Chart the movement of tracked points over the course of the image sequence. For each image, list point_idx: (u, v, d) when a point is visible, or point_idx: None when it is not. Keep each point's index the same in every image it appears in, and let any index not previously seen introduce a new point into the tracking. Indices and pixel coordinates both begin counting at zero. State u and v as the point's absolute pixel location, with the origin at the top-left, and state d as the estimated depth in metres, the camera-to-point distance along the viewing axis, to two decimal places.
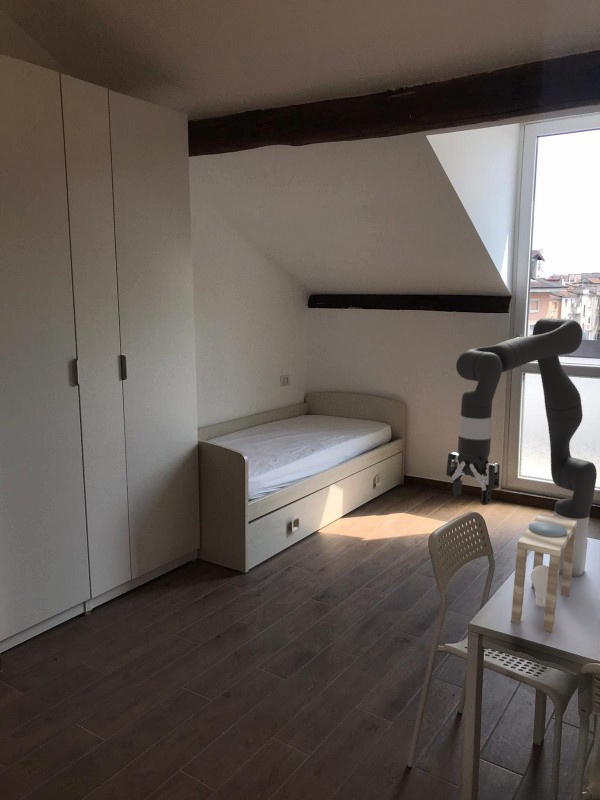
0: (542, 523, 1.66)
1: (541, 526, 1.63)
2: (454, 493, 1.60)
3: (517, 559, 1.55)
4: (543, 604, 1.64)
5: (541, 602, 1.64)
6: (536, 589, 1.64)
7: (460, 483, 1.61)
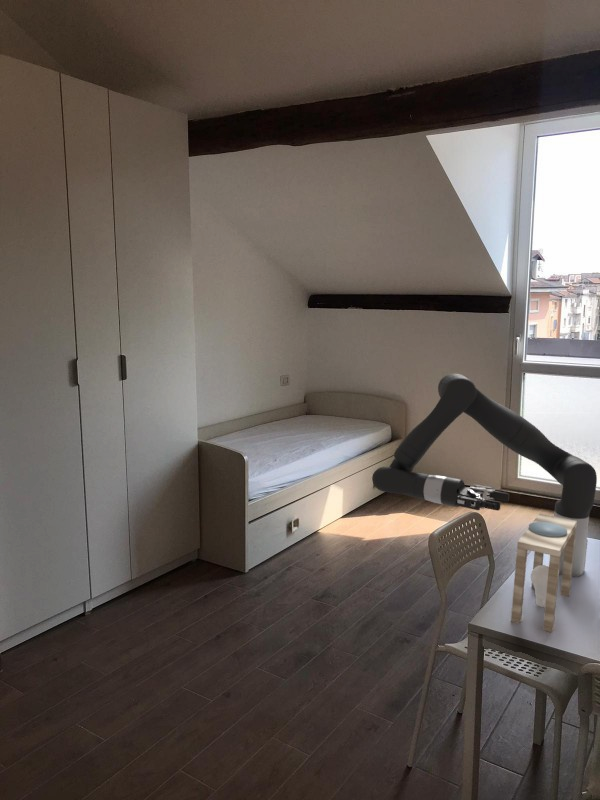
0: (542, 523, 1.66)
1: (541, 526, 1.63)
2: None
3: (517, 559, 1.55)
4: (543, 604, 1.64)
5: (541, 602, 1.64)
6: (536, 589, 1.64)
7: (497, 494, 1.72)
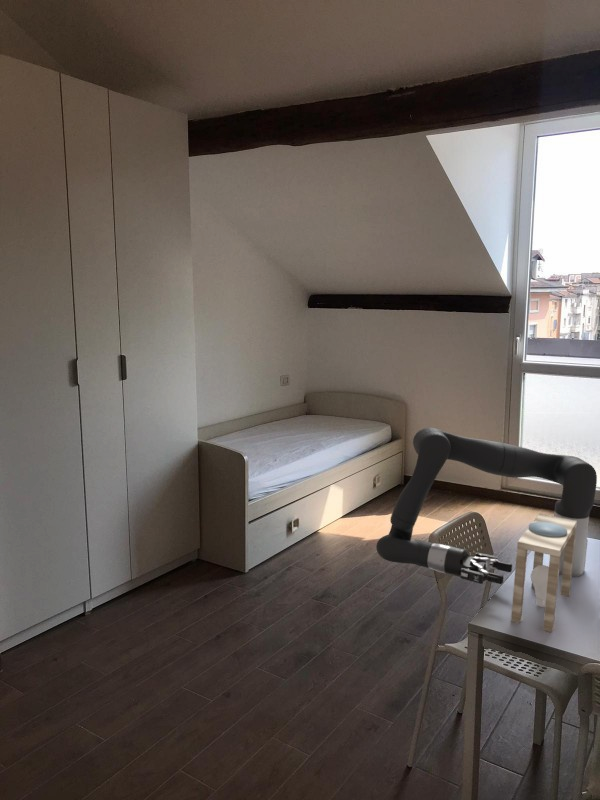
0: (542, 523, 1.66)
1: (541, 526, 1.63)
2: None
3: (517, 559, 1.55)
4: (543, 604, 1.64)
5: (541, 602, 1.64)
6: (536, 589, 1.64)
7: (500, 564, 1.74)
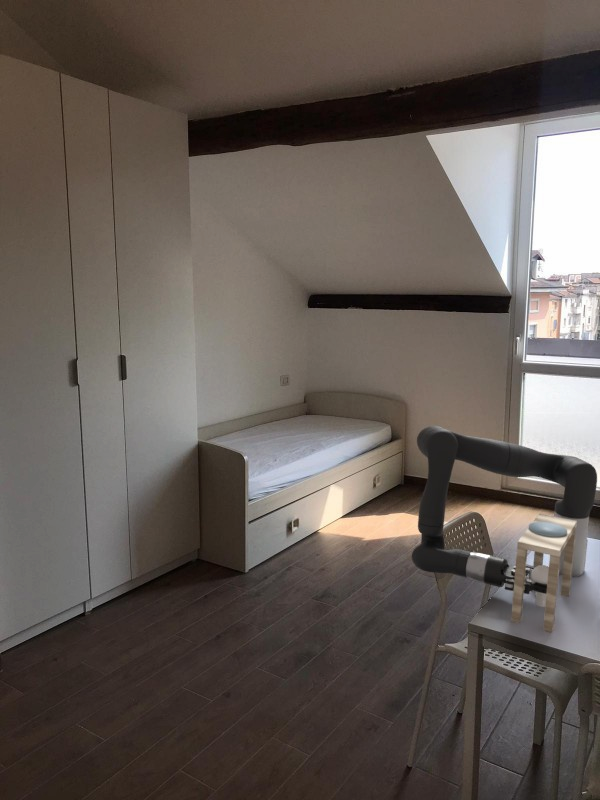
0: (542, 523, 1.66)
1: (541, 526, 1.63)
2: None
3: (517, 559, 1.55)
4: (543, 604, 1.64)
5: (541, 602, 1.64)
6: None
7: None
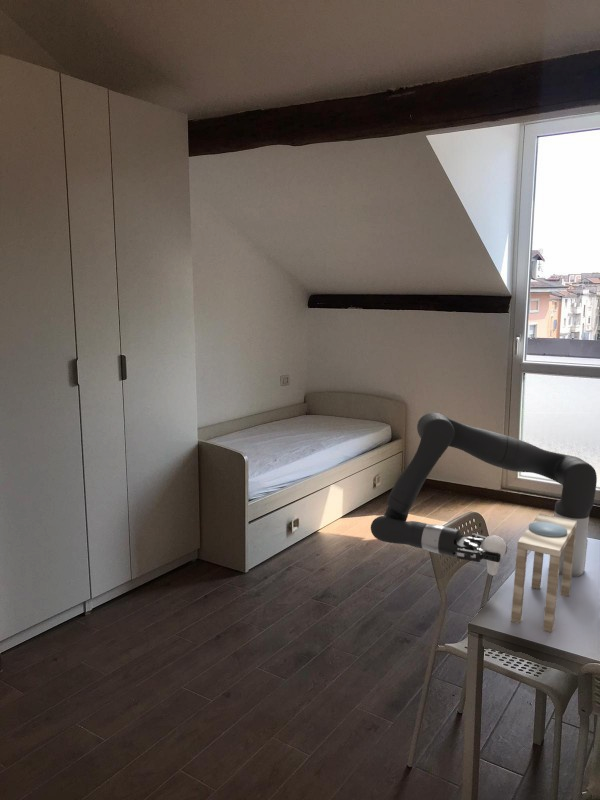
0: (542, 523, 1.66)
1: (541, 526, 1.63)
2: None
3: (517, 559, 1.55)
4: (494, 572, 1.70)
5: (492, 570, 1.70)
6: None
7: None
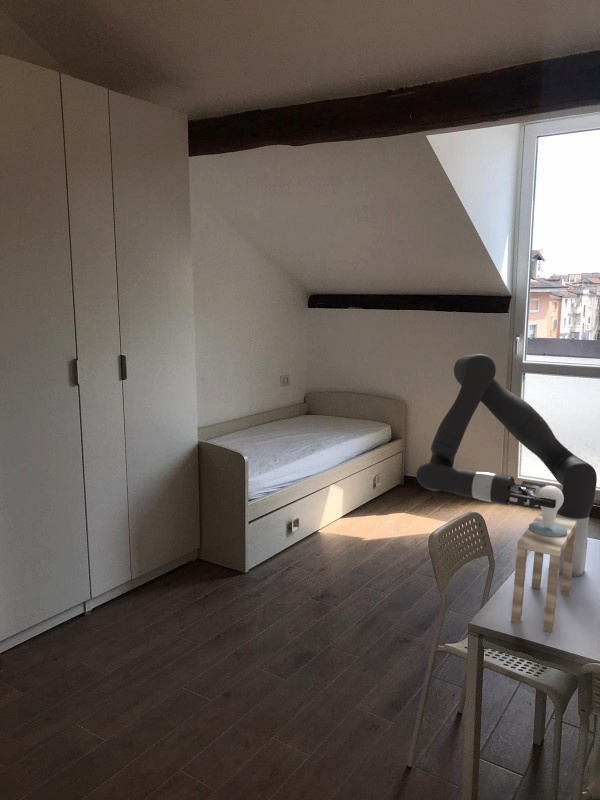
0: (542, 523, 1.66)
1: (541, 526, 1.63)
2: None
3: (517, 559, 1.55)
4: (550, 525, 1.61)
5: (548, 522, 1.61)
6: (543, 510, 1.61)
7: None
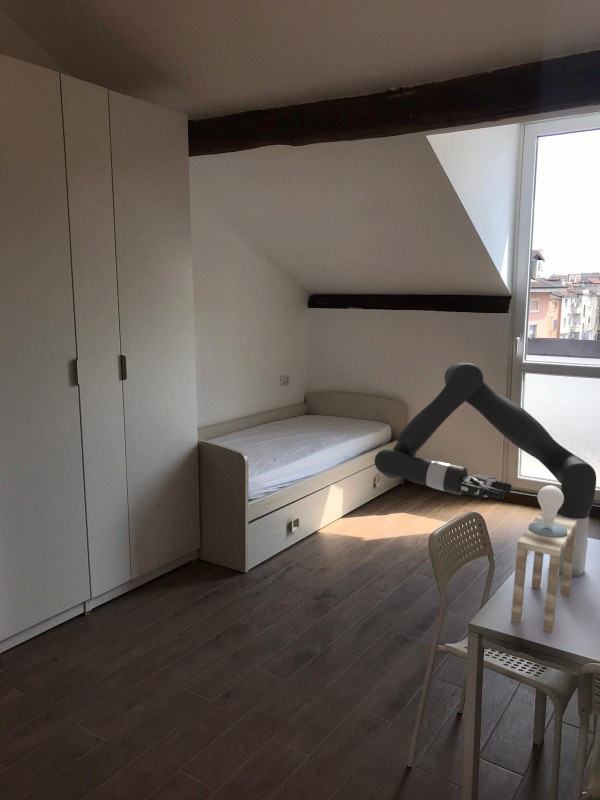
0: (542, 523, 1.66)
1: (541, 526, 1.63)
2: None
3: (517, 559, 1.55)
4: (550, 525, 1.61)
5: (548, 522, 1.61)
6: (543, 509, 1.61)
7: (499, 484, 1.71)
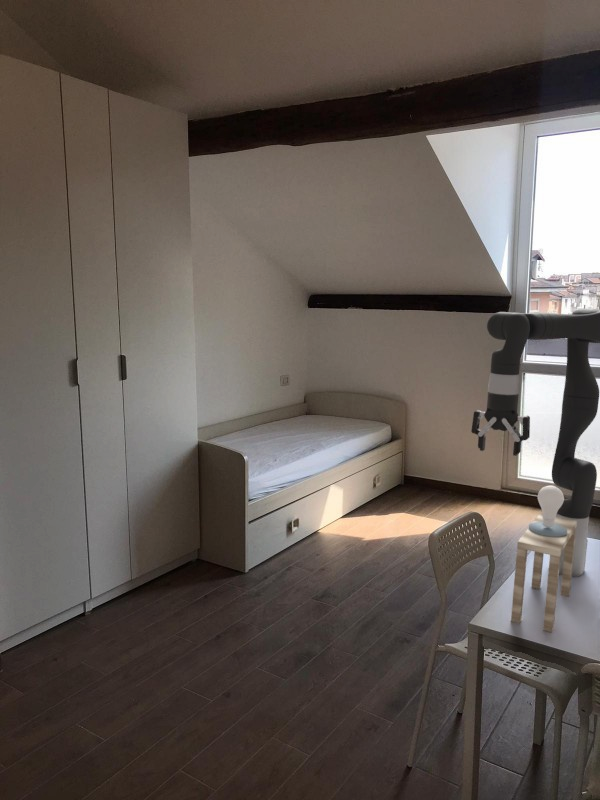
0: (542, 523, 1.66)
1: (541, 526, 1.63)
2: (481, 449, 1.69)
3: (517, 559, 1.55)
4: (550, 525, 1.61)
5: (548, 522, 1.61)
6: (543, 509, 1.61)
7: (485, 439, 1.70)
